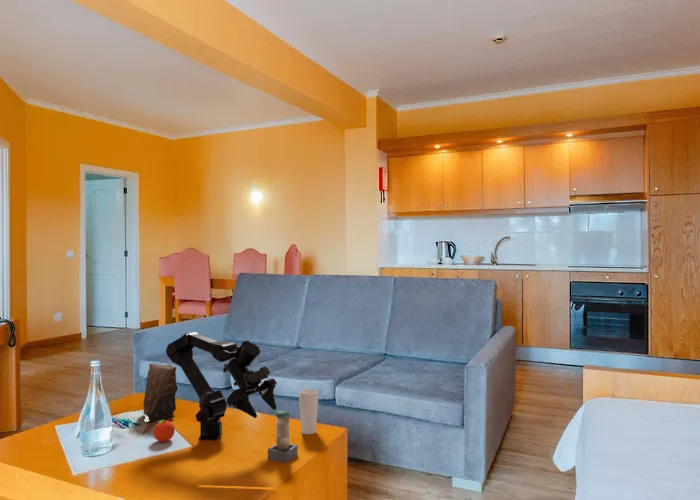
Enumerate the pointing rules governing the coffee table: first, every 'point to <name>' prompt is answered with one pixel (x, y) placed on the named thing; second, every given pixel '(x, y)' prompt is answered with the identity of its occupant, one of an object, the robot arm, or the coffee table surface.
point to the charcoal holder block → (282, 453)
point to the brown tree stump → (160, 392)
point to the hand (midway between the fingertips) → (266, 413)
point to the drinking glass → (308, 410)
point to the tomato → (163, 431)
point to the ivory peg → (282, 431)
